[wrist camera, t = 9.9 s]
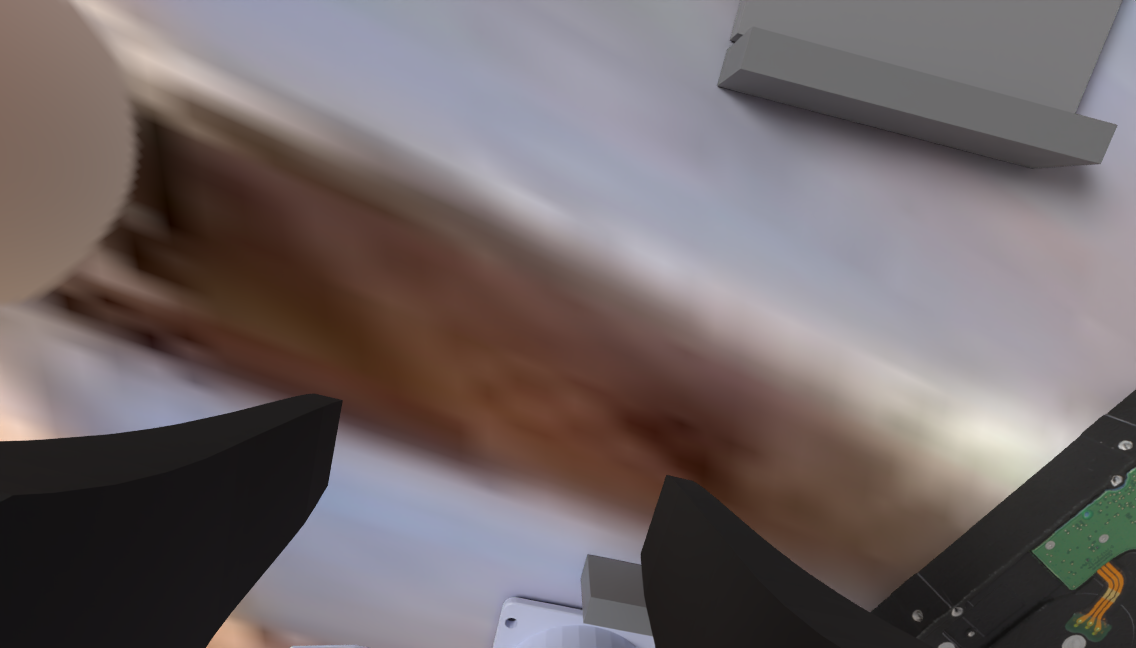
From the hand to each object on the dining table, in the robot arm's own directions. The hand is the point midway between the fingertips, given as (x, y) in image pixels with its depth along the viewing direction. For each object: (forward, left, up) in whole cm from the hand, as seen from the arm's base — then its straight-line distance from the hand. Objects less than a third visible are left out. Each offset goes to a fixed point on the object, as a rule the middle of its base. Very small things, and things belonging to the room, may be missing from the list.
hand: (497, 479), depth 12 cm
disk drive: (-4, -25, -10) cm, 27 cm away
